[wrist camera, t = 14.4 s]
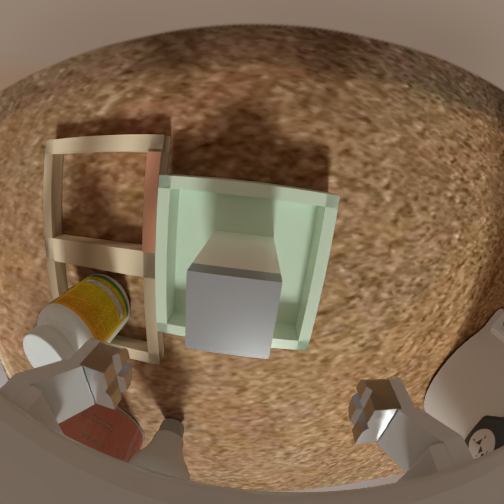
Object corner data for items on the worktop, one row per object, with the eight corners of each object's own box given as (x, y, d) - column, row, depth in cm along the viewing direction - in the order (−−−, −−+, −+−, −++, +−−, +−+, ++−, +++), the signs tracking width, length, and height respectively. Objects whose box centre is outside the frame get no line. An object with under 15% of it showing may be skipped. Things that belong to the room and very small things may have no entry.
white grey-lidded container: (273, 237, 19) (282, 282, 12) (265, 290, 20) (268, 358, 13) (215, 230, 19) (186, 270, 12) (211, 284, 20) (185, 347, 13)
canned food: (61, 407, 28) (24, 463, 16) (86, 379, 25) (37, 452, 14) (122, 453, 30) (98, 513, 18) (160, 435, 27) (136, 513, 16)
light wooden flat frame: (171, 136, 18) (163, 134, 17) (164, 355, 23) (159, 366, 22) (57, 140, 18) (45, 140, 16) (68, 330, 23) (59, 338, 22)
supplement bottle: (123, 336, 23) (74, 405, 14) (77, 306, 22) (17, 362, 13) (139, 291, 22) (80, 359, 12) (89, 260, 21) (15, 308, 12)
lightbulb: (178, 397, 25) (150, 485, 14) (212, 430, 26) (198, 512, 16) (138, 408, 26) (105, 483, 15) (171, 438, 27) (151, 510, 17)
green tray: (328, 192, 19) (339, 196, 16) (301, 329, 22) (307, 350, 19) (173, 174, 19) (159, 174, 16) (168, 312, 22) (156, 331, 19)
